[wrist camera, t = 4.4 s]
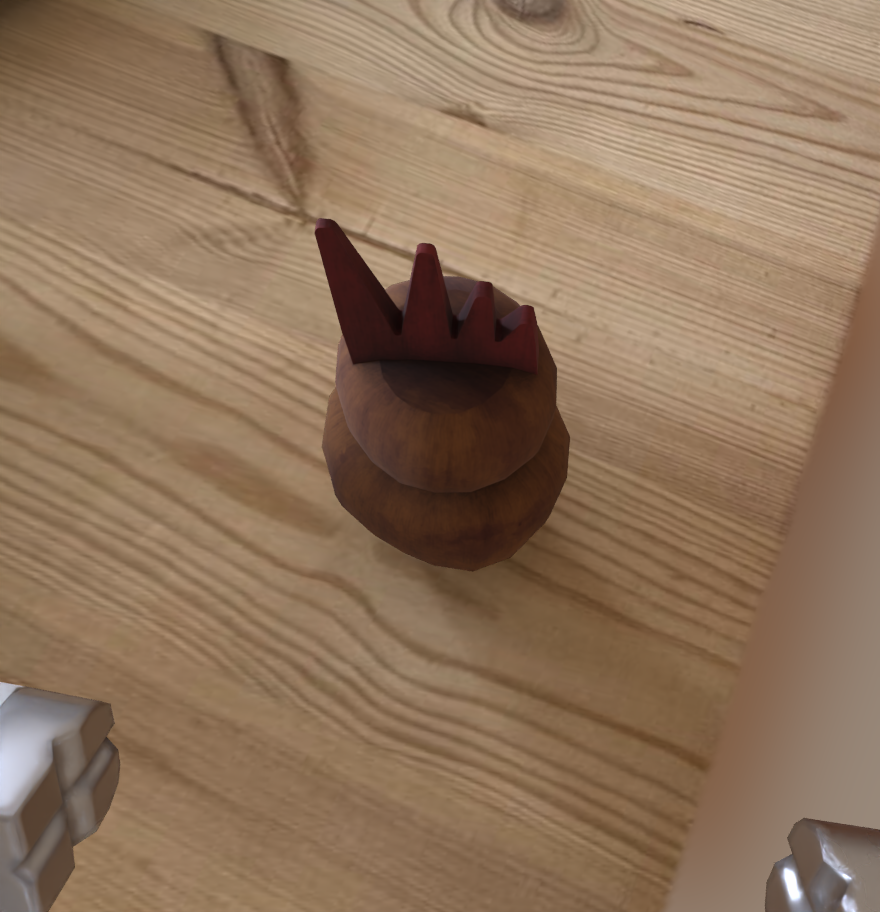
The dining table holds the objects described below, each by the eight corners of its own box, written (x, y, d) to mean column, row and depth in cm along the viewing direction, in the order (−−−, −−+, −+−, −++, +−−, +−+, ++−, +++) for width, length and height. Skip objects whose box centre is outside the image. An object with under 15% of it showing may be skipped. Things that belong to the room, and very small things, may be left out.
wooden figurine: (318, 524, 25) (149, 295, 11) (397, 385, 26) (343, 24, 12) (497, 615, 24) (578, 499, 10) (568, 465, 25) (727, 173, 11)
